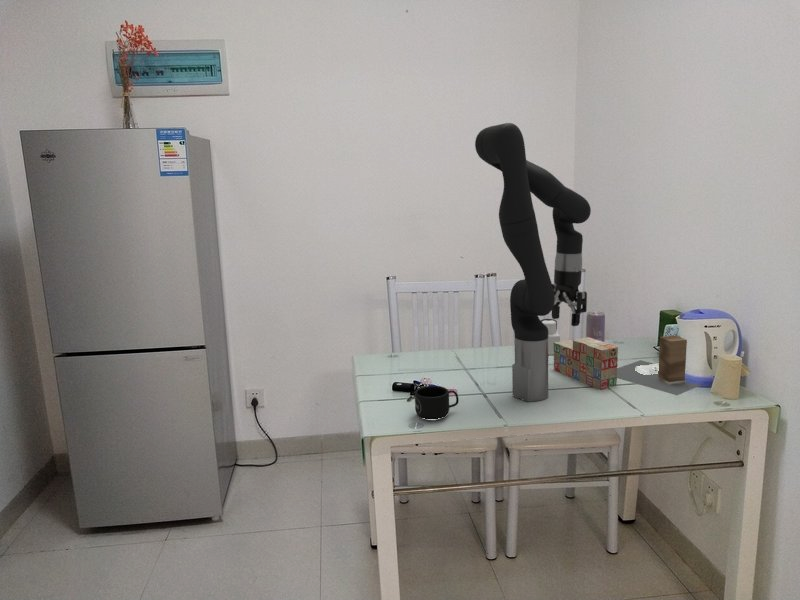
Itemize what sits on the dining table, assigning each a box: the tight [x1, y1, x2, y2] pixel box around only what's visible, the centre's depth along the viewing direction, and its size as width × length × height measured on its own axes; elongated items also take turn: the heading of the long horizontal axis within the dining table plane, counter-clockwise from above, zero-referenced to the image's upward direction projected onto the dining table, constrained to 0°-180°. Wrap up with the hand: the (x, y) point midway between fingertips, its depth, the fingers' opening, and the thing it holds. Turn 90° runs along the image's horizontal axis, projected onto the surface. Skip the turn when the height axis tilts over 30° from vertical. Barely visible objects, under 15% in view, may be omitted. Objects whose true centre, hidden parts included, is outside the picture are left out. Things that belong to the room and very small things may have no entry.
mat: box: [616, 359, 701, 396], centre depth 163 cm, size 20×24×1 cm
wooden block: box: [658, 335, 688, 385], centre depth 157 cm, size 5×5×13 cm
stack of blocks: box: [553, 336, 619, 391], centre depth 165 cm, size 21×6×12 cm, turn 22°
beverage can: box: [585, 311, 606, 342], centre depth 185 cm, size 6×6×15 cm
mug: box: [414, 385, 459, 420], centre depth 143 cm, size 12×9×7 cm
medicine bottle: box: [540, 318, 561, 356], centre depth 192 cm, size 7×7×12 cm
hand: (565, 322), depth 159 cm, fingers open, 8 cm apart
